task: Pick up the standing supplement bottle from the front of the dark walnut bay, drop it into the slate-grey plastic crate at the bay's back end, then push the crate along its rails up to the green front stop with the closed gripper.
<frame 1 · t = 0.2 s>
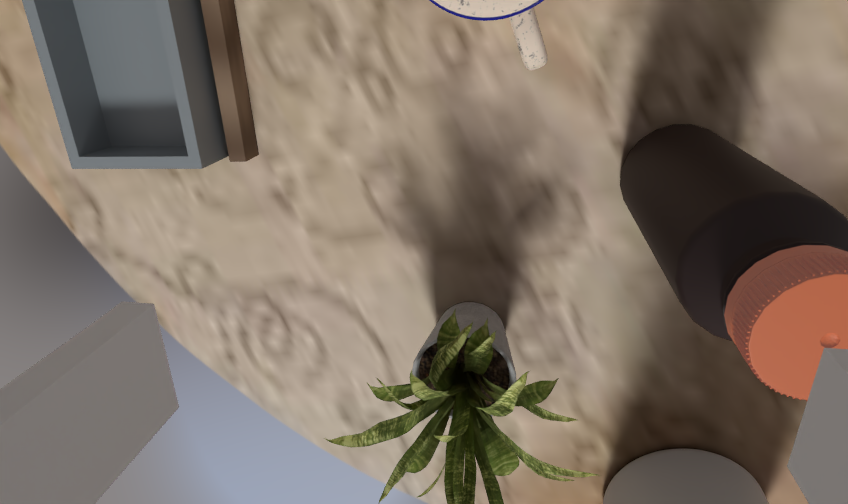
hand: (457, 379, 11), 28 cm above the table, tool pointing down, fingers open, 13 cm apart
crate: (129, 58, 36), point 3 cm above the table, slide at 0.0 cm
cylinder vase: (678, 500, 46), on the table
vinegar: (672, 174, 36), on the table
house plant: (487, 336, 43), on the table
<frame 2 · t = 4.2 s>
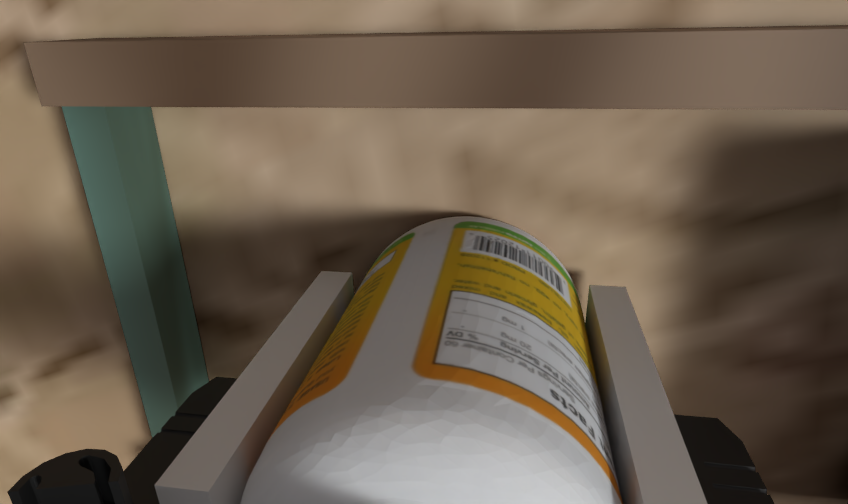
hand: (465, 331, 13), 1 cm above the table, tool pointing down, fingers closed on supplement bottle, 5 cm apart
supplement bottle: (469, 309, 14), resting in bay, touching gripper
bay: (787, 333, 13), on the table
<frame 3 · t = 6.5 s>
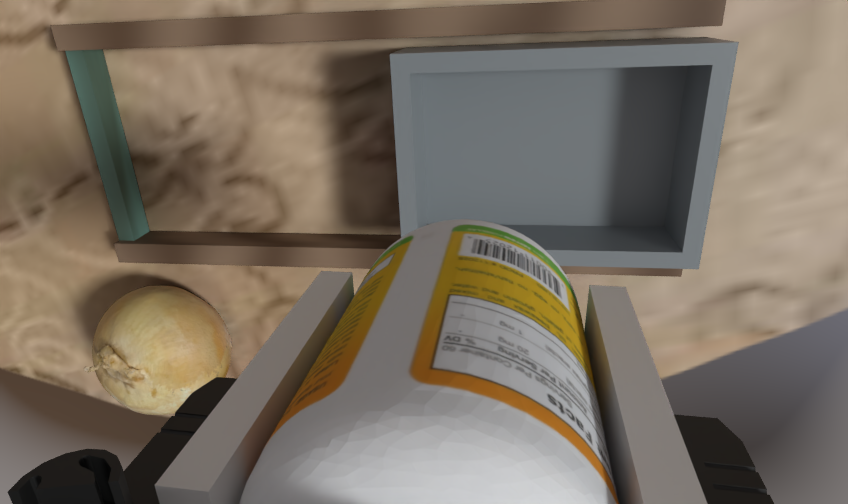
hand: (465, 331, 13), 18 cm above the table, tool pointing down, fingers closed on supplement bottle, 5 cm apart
crate: (547, 154, 26), point 3 cm above the table, slide at 0.0 cm
onion: (190, 323, 37), on the table
supplement bottle: (468, 312, 14), point 17 cm above the table, touching gripper
bay: (377, 143, 29), on the table
when the fingers open (5 cm above the table, at t = 8.9 s): supplement bottle drops 2 cm, resting on crate.
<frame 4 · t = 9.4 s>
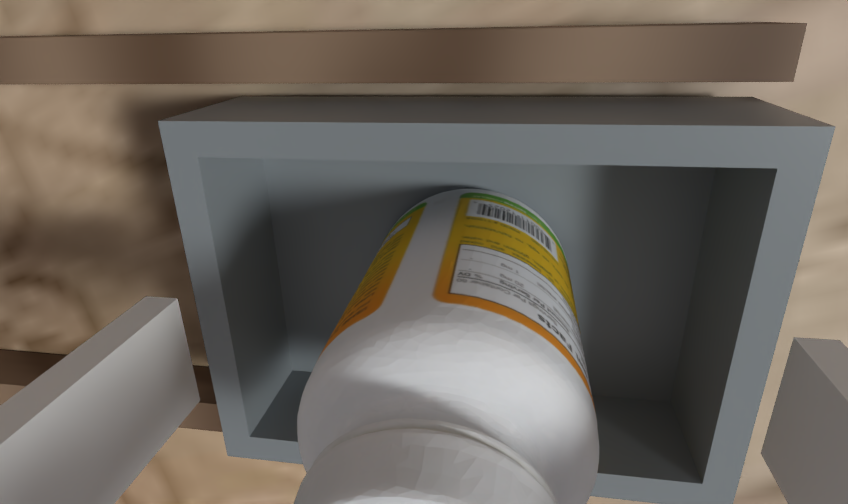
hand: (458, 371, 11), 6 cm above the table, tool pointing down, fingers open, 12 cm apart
crate: (469, 290, 15), point 3 cm above the table, slide at 0.1 cm, touching supplement bottle
supplement bottle: (472, 270, 16), point 1 cm above the table, touching crate
bay: (220, 239, 19), on the table
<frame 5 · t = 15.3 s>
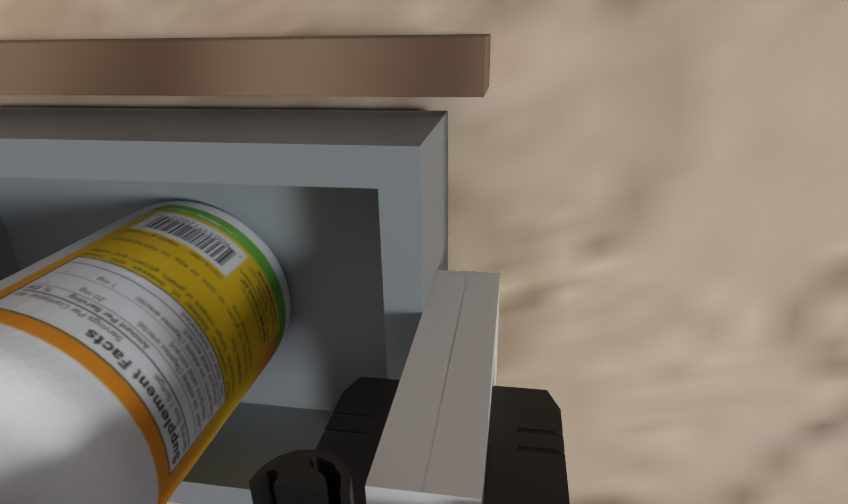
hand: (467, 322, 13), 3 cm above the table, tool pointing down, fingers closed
crate: (182, 306, 14), point 3 cm above the table, slide at 0.8 cm, touching supplement bottle, gripper
supplement bottle: (209, 284, 16), point 1 cm above the table, touching crate
bay: (5, 251, 18), on the table
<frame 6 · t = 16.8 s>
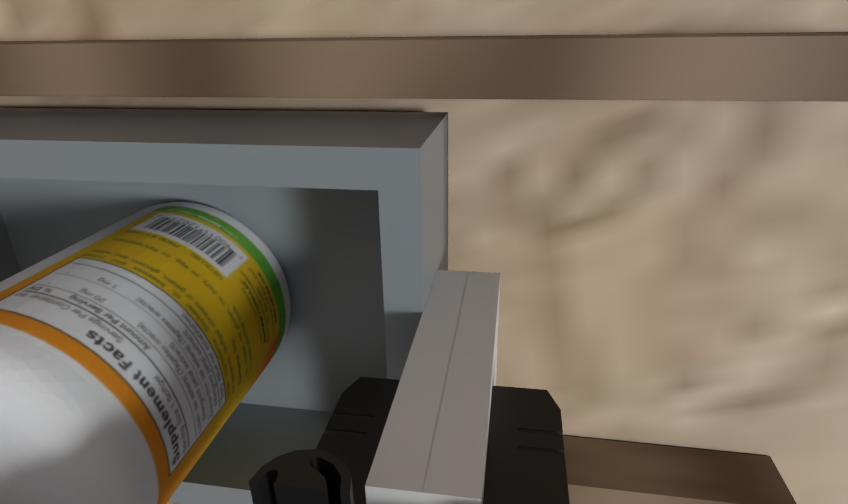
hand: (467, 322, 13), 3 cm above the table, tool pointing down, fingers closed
crate: (182, 307, 15), point 3 cm above the table, slide at 9.4 cm, touching supplement bottle, gripper
supplement bottle: (209, 284, 16), point 1 cm above the table, touching crate
bay: (252, 266, 17), on the table
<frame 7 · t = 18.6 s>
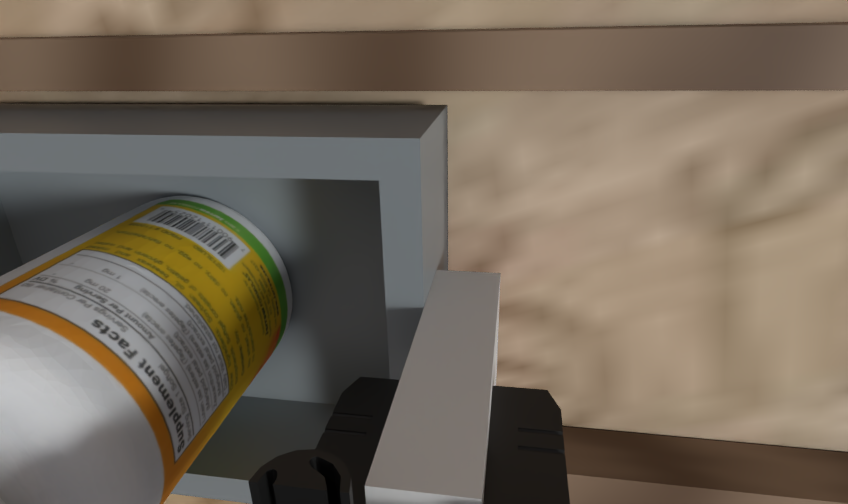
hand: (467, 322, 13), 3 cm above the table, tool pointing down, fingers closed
crate: (184, 300, 15), point 3 cm above the table, slide at 14.0 cm, touching supplement bottle
supplement bottle: (211, 278, 16), point 1 cm above the table, touching crate
bay: (399, 267, 16), on the table
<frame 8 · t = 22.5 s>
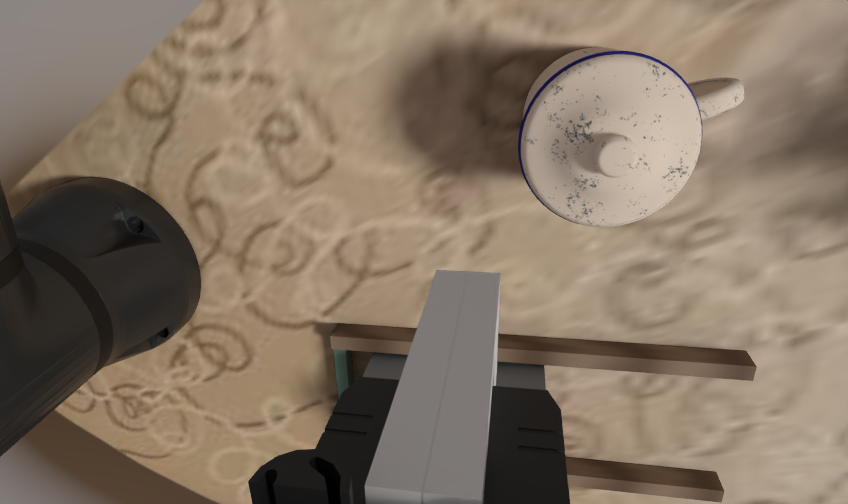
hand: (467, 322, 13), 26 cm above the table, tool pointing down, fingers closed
crate: (454, 418, 44), point 3 cm above the table, slide at 14.4 cm, touching supplement bottle
bay: (525, 403, 46), on the table
teacup with lid: (611, 108, 36), on the table
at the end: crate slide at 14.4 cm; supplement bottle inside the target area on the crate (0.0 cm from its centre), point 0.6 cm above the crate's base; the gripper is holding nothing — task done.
